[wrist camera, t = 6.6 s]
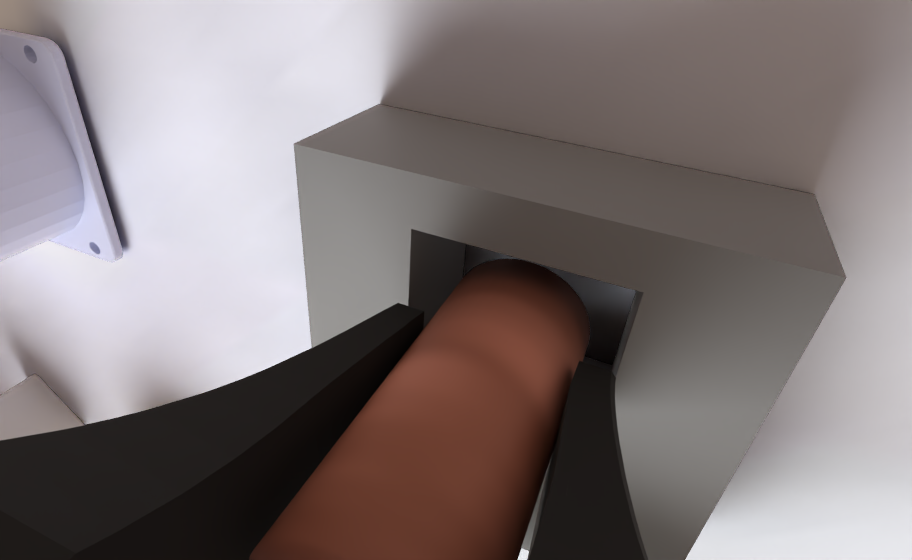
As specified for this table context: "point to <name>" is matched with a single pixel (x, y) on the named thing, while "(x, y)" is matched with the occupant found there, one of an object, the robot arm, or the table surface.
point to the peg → (449, 432)
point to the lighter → (33, 410)
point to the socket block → (591, 255)
